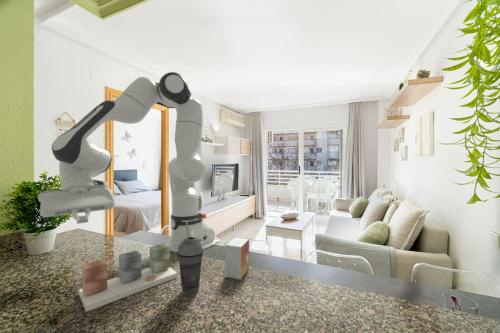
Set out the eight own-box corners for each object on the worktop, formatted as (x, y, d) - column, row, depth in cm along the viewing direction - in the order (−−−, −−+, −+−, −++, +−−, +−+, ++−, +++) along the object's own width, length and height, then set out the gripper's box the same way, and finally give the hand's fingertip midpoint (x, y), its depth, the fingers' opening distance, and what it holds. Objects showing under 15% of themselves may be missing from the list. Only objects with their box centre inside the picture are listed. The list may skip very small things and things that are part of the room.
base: (163, 266, 81) (163, 261, 81) (177, 277, 74) (177, 271, 73) (79, 294, 64) (79, 288, 64) (86, 311, 57) (85, 304, 57)
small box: (241, 280, 72) (241, 247, 72) (224, 277, 74) (224, 244, 74) (249, 269, 80) (249, 238, 79) (234, 266, 82) (234, 237, 81)
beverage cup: (196, 301, 61) (197, 226, 61) (171, 297, 63) (171, 225, 62) (207, 286, 69) (207, 219, 68) (184, 283, 70) (184, 218, 69)
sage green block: (164, 263, 79) (164, 243, 79) (169, 267, 76) (169, 246, 76) (149, 268, 75) (149, 247, 75) (154, 272, 72) (154, 250, 72)
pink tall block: (103, 282, 66) (103, 258, 66) (107, 288, 63) (107, 263, 63) (82, 289, 63) (82, 264, 63) (85, 296, 60) (84, 269, 60)
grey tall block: (136, 272, 73) (136, 250, 72) (141, 277, 70) (141, 254, 69) (119, 277, 69) (119, 254, 69) (123, 283, 66) (123, 259, 66)
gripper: (37, 185, 73) (39, 222, 66) (111, 181, 87) (119, 211, 80) (37, 197, 76) (39, 234, 69) (108, 192, 90) (115, 221, 83)
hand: (82, 222), depth 75 cm, fingers closed
